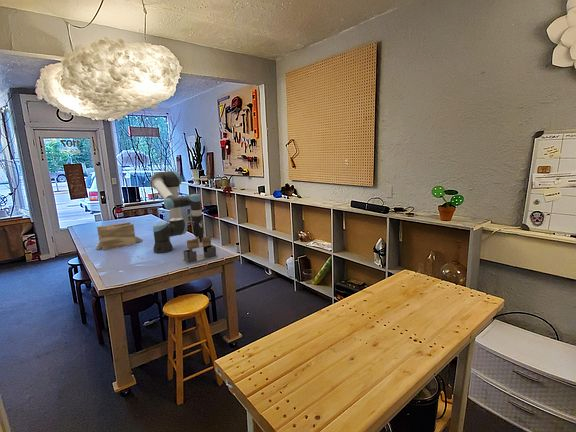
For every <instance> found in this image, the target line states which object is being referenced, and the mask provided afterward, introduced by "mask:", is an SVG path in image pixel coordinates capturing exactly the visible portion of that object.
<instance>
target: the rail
mask: <svg viewBox="0 0 576 432" xmlns="http://www.w3.org/2000/svg"><path fill="white" fill-rule="evenodd" d="M211 239H212V237H211V236H209V235H208V236H203V238H202V243H203V246H208V245H212V240H211ZM186 246H187V250H190V249H193V250H194V249H195V250H196V249H198V248H203V246H201V247H199V242H198V238H197V239H196V238H192V239H187V240H186Z"/></svg>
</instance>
